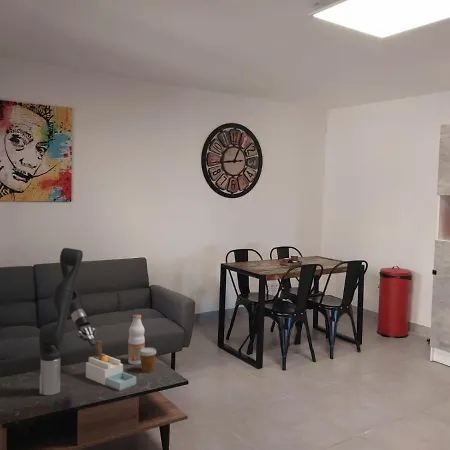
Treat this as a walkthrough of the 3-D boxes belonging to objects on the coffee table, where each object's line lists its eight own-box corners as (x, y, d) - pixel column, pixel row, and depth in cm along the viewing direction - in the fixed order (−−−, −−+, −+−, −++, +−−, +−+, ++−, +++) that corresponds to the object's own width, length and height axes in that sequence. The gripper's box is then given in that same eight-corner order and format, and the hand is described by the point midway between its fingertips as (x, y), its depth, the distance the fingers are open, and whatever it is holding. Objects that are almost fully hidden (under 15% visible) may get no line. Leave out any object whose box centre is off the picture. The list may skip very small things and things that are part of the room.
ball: (100, 364, 263) (100, 357, 263) (101, 362, 267) (101, 354, 267) (107, 364, 263) (107, 357, 263) (108, 362, 267) (108, 354, 267)
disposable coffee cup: (157, 368, 282) (158, 347, 281) (153, 374, 273) (154, 353, 272) (141, 367, 283) (141, 346, 282) (136, 373, 274) (137, 352, 273)
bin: (119, 390, 250) (119, 383, 249) (105, 385, 256) (105, 377, 256) (136, 384, 258) (136, 377, 258) (122, 378, 265) (122, 371, 265)
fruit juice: (125, 363, 288) (125, 316, 286) (133, 358, 297) (134, 312, 295) (139, 365, 285) (140, 318, 283) (147, 360, 294) (148, 314, 291)
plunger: (97, 363, 264) (97, 343, 264) (92, 361, 267) (92, 341, 266) (105, 360, 269) (105, 341, 268) (100, 359, 271) (101, 339, 270)
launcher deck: (104, 385, 256) (105, 365, 255) (85, 377, 266) (85, 358, 265) (122, 378, 266) (123, 359, 265) (103, 371, 275) (104, 352, 275)
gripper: (73, 317, 269) (87, 344, 263) (93, 313, 280) (106, 339, 273) (67, 325, 273) (80, 352, 267) (87, 320, 284) (100, 346, 277)
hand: (94, 345), depth 270 cm, fingers closed
